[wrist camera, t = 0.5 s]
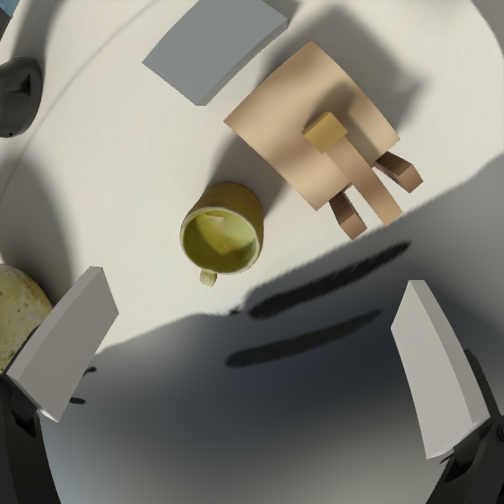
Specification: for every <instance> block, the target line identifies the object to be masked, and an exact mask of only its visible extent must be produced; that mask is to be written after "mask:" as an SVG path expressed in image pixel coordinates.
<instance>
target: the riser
mask: <svg viewBox="0 0 504 504" xmlns="http://www.w3.org/2000/svg"><path fill="white" fill-rule="evenodd" d="M287 24H288V19H287V18H286V17H285V16H283V15H282V14H281V13H279V12H278V11H277V10H275V9H274V8H273V7H271V6H270V5H268V4H267V3H265V2H264V1H263V0H199V1H198V2H197V3H196V4H195V5H194V6H193V7H192V8H191V9H190V10H189V11H188V12H187V13H186V14H185V15H184V16H183V17H182V18H181V19H180V20H179V21H178V22H177V23H176V24H175V25H174V26H173V27H172V28H171V29H170V30H169V31H168V32H167V34H166V35H165V36H164V37H163V38H162V39H161V40H160V41H159V43H158V44H157V45H156V46H155V47H154V48H153V50H152V51H151V52H150V53H149V54H148V56H147V57H146V58H145V59H144V61H143V62H142V63H143V64H144V65H145V66H147V67H148V68H149V69H151V70H152V71H153V72H155V73H156V74H157V75H159V76H160V77H161V78H162V79H164V80H165V81H166V82H168V83H169V84H170V85H171V86H173V87H174V88H175V89H176V90H178V91H179V92H180V93H181V94H183V95H184V96H185V97H186V98H187V99H189V100H190V101H191V102H192V103H194V104H195V105H196V106H206V105H207V104H208V103H209V102H210V101H211V100H212V98H213V97H214V96H215V95H216V94H217V93H218V92H219V91H220V90H221V89H222V88H223V87H224V86H225V85H226V84H227V83H228V82H229V81H230V80H231V79H232V78H233V77H234V76H235V75H236V74H237V73H238V72H239V71H240V70H241V69H242V68H243V67H244V66H245V65H246V64H247V63H248V62H249V61H250V60H252V59H253V58H254V57H255V56H256V55H257V54H258V53H259V52H260V51H261V50H263V49H264V48H265V47H266V46H267V45H268V44H269V43H271V42H272V41H273V40H274V39H275V38H276V37H278V36H279V35H280V34H281V33H282V32H284V31H285V30H286V29H287Z"/></svg>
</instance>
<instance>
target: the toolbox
mask: <svg viewBox="0 0 504 504" xmlns="http://www.w3.org/2000/svg"><path fill="white" fill-rule="evenodd" d="M374 166H375V167H376V168H377V169H379V170H380V171H381V172H383V173H384V174H385V175H387V176H388V177H389V178H391V179H392V180H393V181H395V182H396V183H397V184H399V185H400V186H401V187H402V188H404V189H405V190H406V191H407V192H409V193H411V192H412V191H413V190H414V189H415V188H416V187H418V186H419V185H420V184H421V183H422V182H423V180H422V178H421V177H420V175H419V174H418V172H417V170H416V169H415V167H414V166H413V164H411V163H409V162H408V161H406V160H404V159H402V158H400V157H398V156H396V155H394V154H392V153H390V152H388V151H386V152H385V153H384V154H383V155H382V156H381V157H379V158H378V159H377V160H376V161H375V162H374V163H372V164H371V165H370V168H371V169H372V168H373V167H374ZM352 185H353V184H352V183H351V182H350V183H349V184H348V185H347V186H346V187H344V188H343V189H342V190H341V191H340V192H338V193H337V194H336V195H335V196H334V197H333V198H331V199H330V200H329V203H330V206H331V208H332V210H333V212H334V215H335V217H336V219H337V221H338V224H339V226H340V227H341V228H342V229H343V230H344V232H345V233H346V234H347V235H348V236H349V237H350V238H351V240H354V239H355V238H356V237H357V236H359V235H360V234H361V233H362V232H364V231H365V230H366V229H367V227H366V226H365V224H364V222H363V221H362V219H361V217H360V216H359V214H358V213H357V211H356V210H355V208H354V207H353V205H352V203H351V202H350V200H349V199H348V197H347V196H346V194H345V193H344V192H345V191H346V190H347V189H348V188H349V187H351V186H352Z"/></svg>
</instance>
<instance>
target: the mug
mask: <svg viewBox="0 0 504 504" xmlns="http://www.w3.org/2000/svg"><path fill="white" fill-rule="evenodd" d="M263 233H264V226H263V211H262V207H261V204H260V202H259V200H258V198H257V197H256V196H255V195H254V193H253V192H252V191H250V190H249V189H248V188H246V187H244V186H242V185H240V184H236V183H226V182H225V183H219V184H216V185H214V186H212V187H210V188H209V189H208V190H206V191H205V192H204V193H203V195H202V196H201V197H200V199H199V201H198V202H197V203H196V204H195V205H194V206H193V208H192V209H191V210H190V211H189V212H188V214H187V215H186V217H185V219H184V221H183V223H182V225H181V230H180V243H181V247H182V250H183V252H184V253H185V255H186V257H187V258H188V259H189V260H190V261H191V262H192V263H193V264H194V265H196V266H198V267H199V268H201V269H202V271H201V274H200V281H201V283H202V284H205V285H207V286H210V287H212V286H213V285H214V283H215V281H216V279H217V274H221V275H233V274H238V273H241V272H243V271H245V270H247V269H249V268H250V267H251V266H252V265H253V264H254V263H255V262H256V260H257V259H258V257H259V255H260V253H261V250H262V246H263V237H264V235H263Z"/></svg>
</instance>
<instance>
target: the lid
mask: <svg viewBox="0 0 504 504" xmlns="http://www.w3.org/2000/svg"><path fill="white" fill-rule="evenodd" d="M323 112H331V113H332V114H333V115H334V116H335V118H336V119H337V120H338V121H339V122H340V123H341V124H342V125H343V126H344V128H345V129H346V130H347V131H348V132H347V133H346V134H345V135H344V136H345V137H346V138H347V140H348V141H349V142H350V143H351V144H352V145H353V147H354V148H355V149H356V150H357V151H358V153H359V154H360V155H361V156H362V157H363V159H364V160H365V161H366V162H367V164H368V165H369V166H370V165H371V164H372V163H374V162H375V161H376V160H377V159H378V158H379V157H381V156H382V155H383V154H384V153H385V152H386V151H388V150H389V149H390V148H391V147H392V146H393V145H395V144H396V143H397V142H398V141H399V140H400V138H399V136H398V135H397V133H396V132H395V131H394V129H393V128H392V127H391V125H390V124H389V123H388V121H387V120H386V119H385V117H384V116H383V115H382V114H381V112H380V111H379V110H378V109H377V107H376V106H375V105H374V104H373V103H372V101H371V100H370V99H369V98H368V97H367V96H366V94H365V93H364V92H363V91H362V90H361V89H360V88H359V86H358V85H357V84H356V83H355V82H354V81H353V80H352V79H351V78H350V77H349V76H348V75H347V74H346V73H345V71H344V70H343V69H342V68H341V67H340V66H339V65H338V64H337V63H336V62H335V61H334V60H333V59H332V58H331V57H329V56H328V55H327V54H326V53H325V52H324V51H323V50H322V49H321V48H320V47H319V46H318V45H317V44H315V43H314V42H313V41H312V40H311V41H309V42H308V43H307V44H306V45H304V46H303V47H302V48H301V49H299V50H298V51H297V52H296V53H295V54H293V55H292V56H291V57H290V58H289V59H288V60H286V61H285V62H284V63H283V64H282V65H281V66H280V67H278V68H277V69H276V70H275V71H274V72H273V73H272V74H271V75H270V76H268V77H267V78H266V79H265V80H264V81H263V82H262V83H261V84H260V85H259V86H258V87H257V88H256V89H255V90H254V91H253V92H252V93H250V94H249V95H248V96H247V97H246V98H245V99H244V100H243V101H242V102H241V103H240V104H239V105H238V106H237V107H236V108H235V109H234V110H233V112H232V113H231V114H230V115H229V116H228V117H227V118H226V119H225V120H224V121H223V122H224V123H226V124H227V125H228V126H229V127H230V128H231V129H232V130H233V131H235V132H236V133H237V134H238V135H239V136H240V137H241V138H242V139H243V140H244V141H246V142H247V143H248V144H249V145H250V146H251V147H252V148H253V149H254V150H255V151H256V152H257V153H258V154H260V155H261V156H262V157H263V158H264V159H265V160H266V161H267V162H268V163H269V164H270V165H271V166H272V167H273V168H274V169H275V170H276V171H277V172H278V173H279V174H280V175H281V176H282V177H283V178H284V179H285V180H286V181H287V182H288V183H289V184H290V185H291V186H292V187H293V188H294V189H295V190H296V191H297V192H298V193H299V194H300V195H301V196H302V197H303V198H304V199H305V200H306V201H307V202H308V203H309V204H310V205H311V206H312V207H313V208H314V209H315V211H317V210H318V209H320V208H321V207H322V206H323V205H324V204H325V203H327V202H328V201H329V200H330V199H331V198H333V197H334V196H335V195H336V194H337V193H338V192H340V191H341V190H342V189H343V188H344V187H346V186H347V185H348V184H349V183H350V182H351V181H350V180H349V179H348V178H347V177H346V176H345V174H344V173H343V172H342V171H341V170H340V169H339V167H338V166H337V165H336V164H335V163H334V162H333V161H332V160H331V158H330V157H329V156H328V155H327V154H326V153H325V152H324V153H323V154H321V153H320V152H319V151H318V150H317V149H316V147H315V146H314V145H313V144H312V143H311V142H310V141H309V140H308V139H307V138H306V137H305V136H304V135H303V134H302V131H303V130H304V129H305V128H307V127H308V126H309V125H310V124H311V123H312V122H313V121H314V120H315V119H317V118H318V117H319V116H320V115H321V114H322V113H323Z"/></svg>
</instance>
